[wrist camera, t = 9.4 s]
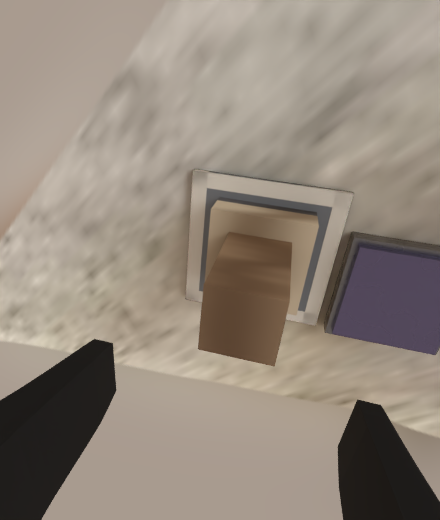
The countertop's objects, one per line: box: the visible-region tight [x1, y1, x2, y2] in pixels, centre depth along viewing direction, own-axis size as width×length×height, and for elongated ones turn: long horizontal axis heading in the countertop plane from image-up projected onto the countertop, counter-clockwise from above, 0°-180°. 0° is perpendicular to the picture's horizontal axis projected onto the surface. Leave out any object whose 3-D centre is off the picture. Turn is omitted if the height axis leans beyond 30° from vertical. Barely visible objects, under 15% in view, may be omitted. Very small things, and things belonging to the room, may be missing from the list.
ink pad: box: [324, 232, 440, 355], centre depth 18 cm, size 6×6×1 cm
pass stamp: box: [198, 197, 319, 366], centre depth 15 cm, size 5×5×7 cm
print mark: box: [186, 169, 354, 326], centre depth 19 cm, size 8×8×1 cm
